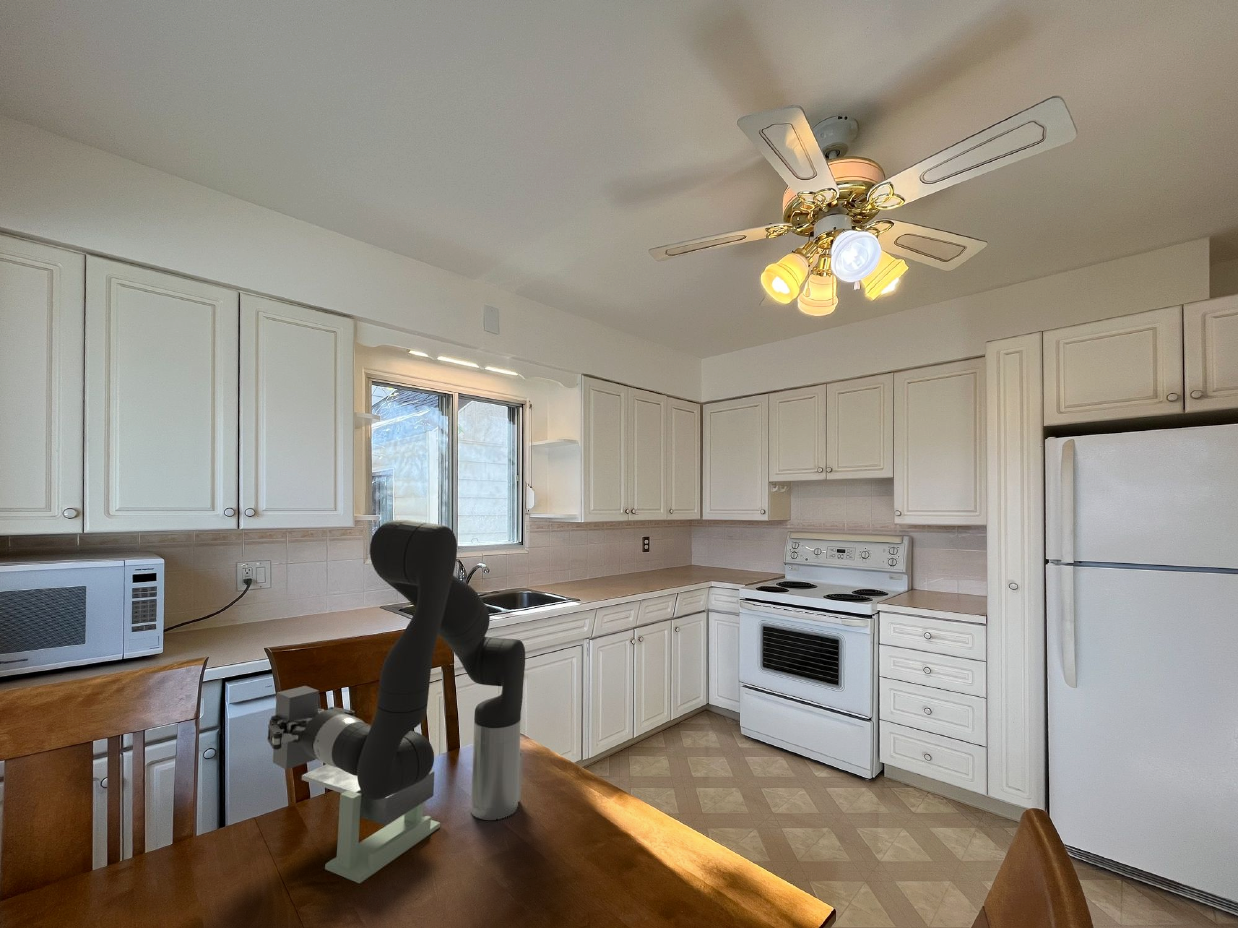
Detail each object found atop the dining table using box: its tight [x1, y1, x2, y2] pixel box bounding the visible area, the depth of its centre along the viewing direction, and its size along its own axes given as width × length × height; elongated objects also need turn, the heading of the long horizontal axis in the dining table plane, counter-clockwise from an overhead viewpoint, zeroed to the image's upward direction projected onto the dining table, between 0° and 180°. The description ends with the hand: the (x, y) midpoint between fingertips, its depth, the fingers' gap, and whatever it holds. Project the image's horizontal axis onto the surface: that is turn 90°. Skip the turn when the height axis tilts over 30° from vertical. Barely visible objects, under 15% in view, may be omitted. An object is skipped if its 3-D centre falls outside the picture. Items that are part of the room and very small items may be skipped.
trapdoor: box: [301, 764, 435, 827], centre depth 103 cm, size 12×20×4 cm, turn 65°
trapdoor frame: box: [324, 790, 441, 884], centre depth 100 cm, size 18×8×12 cm, turn 155°
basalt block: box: [272, 685, 320, 771], centre depth 101 cm, size 5×5×12 cm
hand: (289, 716), depth 103 cm, fingers closed on basalt block, 5 cm apart
